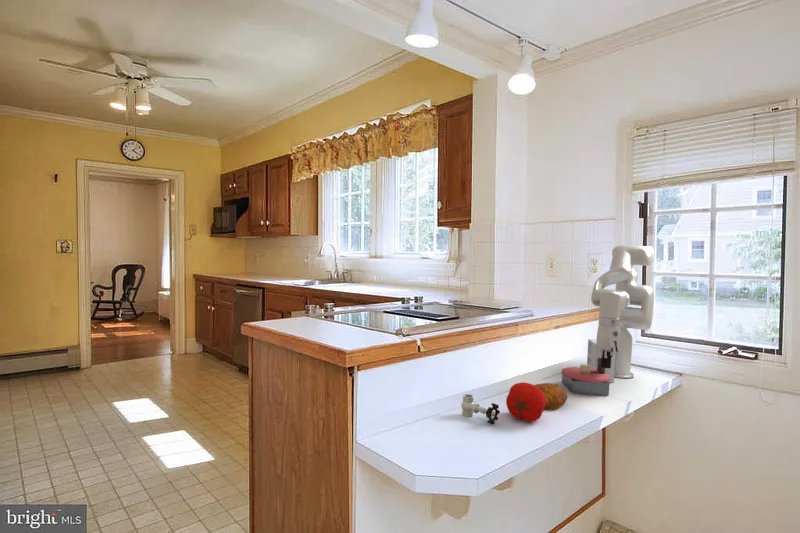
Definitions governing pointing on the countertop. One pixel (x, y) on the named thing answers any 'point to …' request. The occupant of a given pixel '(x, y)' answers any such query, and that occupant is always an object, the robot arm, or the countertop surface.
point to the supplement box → (593, 359)
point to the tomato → (525, 401)
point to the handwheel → (587, 373)
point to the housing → (585, 387)
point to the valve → (478, 409)
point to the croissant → (552, 395)
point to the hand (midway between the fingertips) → (605, 367)
